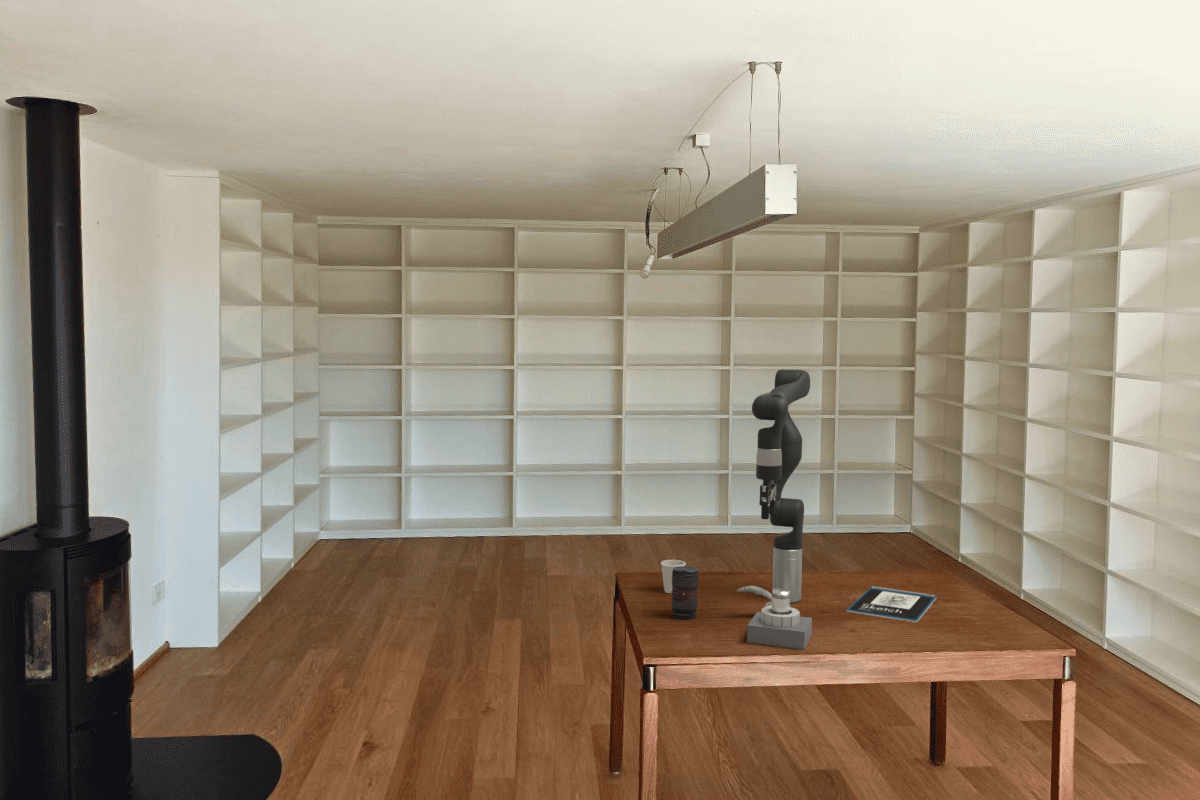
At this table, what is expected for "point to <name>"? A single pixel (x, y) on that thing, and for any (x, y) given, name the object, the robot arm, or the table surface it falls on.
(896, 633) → the table surface
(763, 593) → the inkwell
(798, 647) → the grey socket base
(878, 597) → the sketchbook
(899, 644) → the table surface
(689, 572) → the camera lens
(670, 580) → the dixie cup
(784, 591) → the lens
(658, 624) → the table surface
